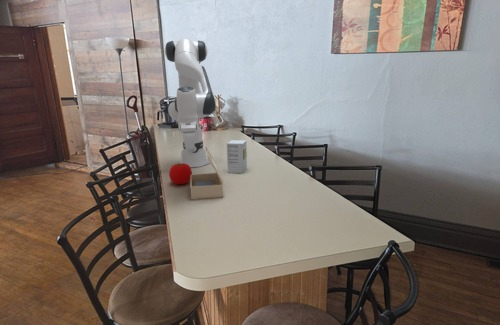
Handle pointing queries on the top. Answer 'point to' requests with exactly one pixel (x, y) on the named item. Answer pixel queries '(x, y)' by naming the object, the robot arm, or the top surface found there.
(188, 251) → the top surface
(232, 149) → the supplement box
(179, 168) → the tomato
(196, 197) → the box
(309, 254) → the top surface
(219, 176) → the lid
